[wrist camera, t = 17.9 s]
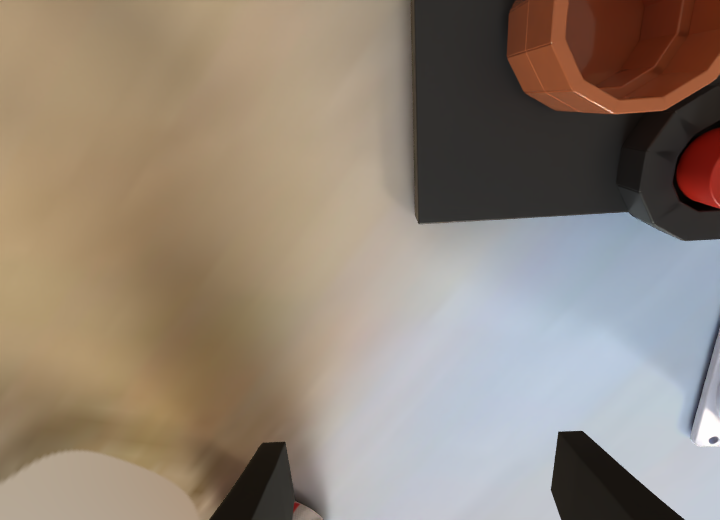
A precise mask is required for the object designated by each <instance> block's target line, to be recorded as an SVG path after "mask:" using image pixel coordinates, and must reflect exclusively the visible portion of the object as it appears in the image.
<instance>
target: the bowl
mask: <svg viewBox="0 0 720 520" xmlns="http://www.w3.org/2000/svg"><path fill="white" fill-rule="evenodd" d="M507 59H508V61H509V63H510V65H511V67H512V69H513V71H514V73H515V75H516V77H517V79H518V81H519V83H520V85H521V87H522V89H523V91H524V92H525V94H527V95H529V96H531V97H532V98H534V99H536V100H538V101H539V102H541V103H543V104H545V105H547V106H548V107H550V108H552V109H554V110H556V111H568V112H583V113H600V114H626V113H641V112H655V111H663V110H666V109H668V108H670V107H671V106H673V105H675V104H676V103H678V102H680V101H681V100H683V99H685V98H686V97H688V96H690V95H691V94H693V93H695V92H696V91H698V90H700V89H701V88H703V87H705V86H706V85H708V84H710V83H711V82H713V81H714V80H715V79H716V78H717V77H718V76H719V74H720V0H515V2H514V3H513V5H512V7H511V9H510V12H509V21H508V40H507Z"/></svg>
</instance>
